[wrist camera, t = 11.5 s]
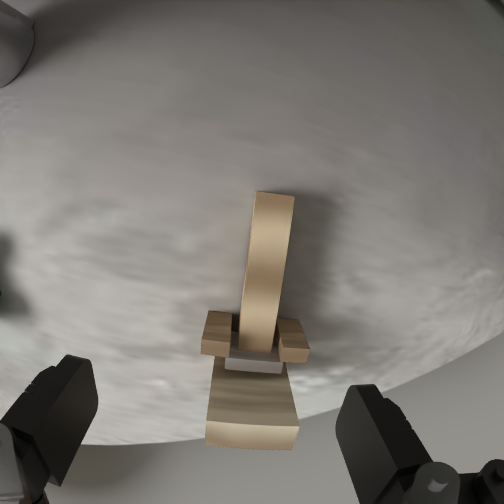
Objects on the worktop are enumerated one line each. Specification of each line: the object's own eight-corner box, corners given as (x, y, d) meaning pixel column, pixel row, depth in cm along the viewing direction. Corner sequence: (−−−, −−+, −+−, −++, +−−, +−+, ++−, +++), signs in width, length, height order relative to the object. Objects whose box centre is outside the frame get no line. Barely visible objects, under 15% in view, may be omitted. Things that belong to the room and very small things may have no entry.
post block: (208, 310, 31) (191, 381, 19) (298, 320, 31) (326, 390, 20) (204, 364, 32) (190, 443, 21) (287, 372, 33) (305, 449, 21)
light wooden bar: (244, 190, 28) (245, 189, 23) (297, 197, 29) (310, 198, 23) (226, 341, 31) (224, 369, 26) (274, 345, 31) (281, 373, 26)
